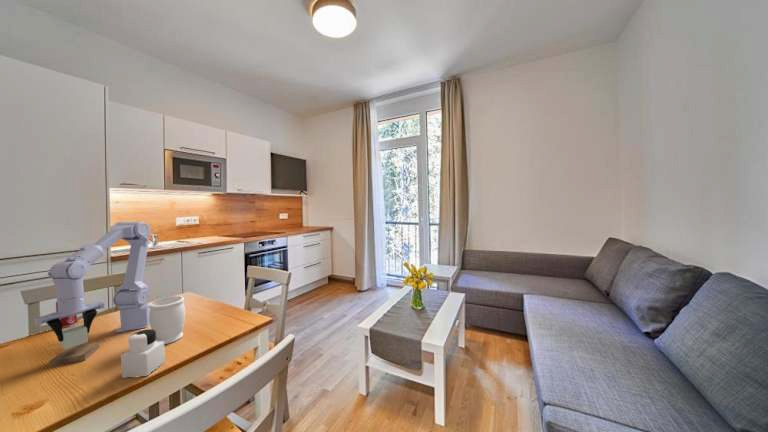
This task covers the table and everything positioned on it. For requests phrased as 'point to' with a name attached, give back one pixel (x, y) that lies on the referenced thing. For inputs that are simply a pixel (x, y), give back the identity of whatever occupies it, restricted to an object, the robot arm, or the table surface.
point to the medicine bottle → (142, 354)
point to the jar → (167, 318)
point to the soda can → (67, 319)
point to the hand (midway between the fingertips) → (74, 336)
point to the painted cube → (74, 336)
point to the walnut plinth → (74, 354)
